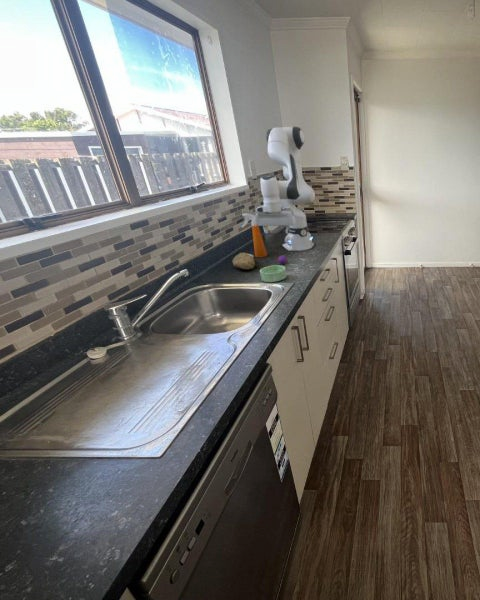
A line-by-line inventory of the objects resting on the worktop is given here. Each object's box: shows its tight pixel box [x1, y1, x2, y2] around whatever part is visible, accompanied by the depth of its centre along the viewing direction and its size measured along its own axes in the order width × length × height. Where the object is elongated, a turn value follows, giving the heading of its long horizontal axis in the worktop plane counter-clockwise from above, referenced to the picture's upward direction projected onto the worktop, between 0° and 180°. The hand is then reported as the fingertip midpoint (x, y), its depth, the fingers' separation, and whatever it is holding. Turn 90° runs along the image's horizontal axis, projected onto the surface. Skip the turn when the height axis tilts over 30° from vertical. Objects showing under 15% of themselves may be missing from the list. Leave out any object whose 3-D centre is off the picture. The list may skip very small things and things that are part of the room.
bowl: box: [259, 264, 287, 283], centre depth 167 cm, size 12×12×5 cm
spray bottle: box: [241, 213, 268, 259], centre depth 196 cm, size 7×11×26 cm, turn 123°
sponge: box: [231, 252, 256, 271], centre depth 183 cm, size 13×8×20 cm
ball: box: [277, 255, 288, 265], centre depth 187 cm, size 5×5×5 cm
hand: (277, 233), depth 179 cm, fingers open, 8 cm apart
